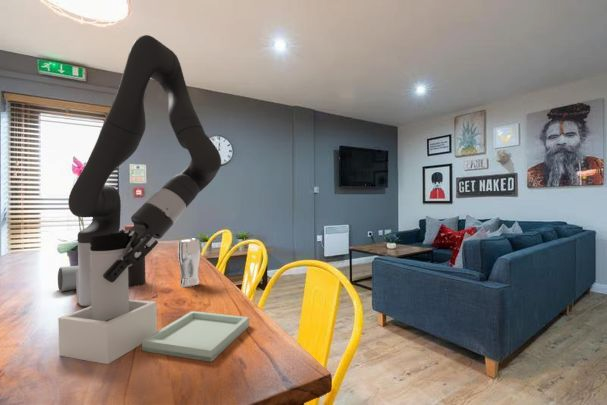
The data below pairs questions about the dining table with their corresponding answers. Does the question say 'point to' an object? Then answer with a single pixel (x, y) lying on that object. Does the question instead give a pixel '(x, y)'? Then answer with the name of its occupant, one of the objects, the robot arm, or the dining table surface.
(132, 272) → the bottle
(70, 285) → the ceramic mug
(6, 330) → the dining table surface
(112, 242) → the travel mug
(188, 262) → the beer glass
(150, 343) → the tray
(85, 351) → the holder
